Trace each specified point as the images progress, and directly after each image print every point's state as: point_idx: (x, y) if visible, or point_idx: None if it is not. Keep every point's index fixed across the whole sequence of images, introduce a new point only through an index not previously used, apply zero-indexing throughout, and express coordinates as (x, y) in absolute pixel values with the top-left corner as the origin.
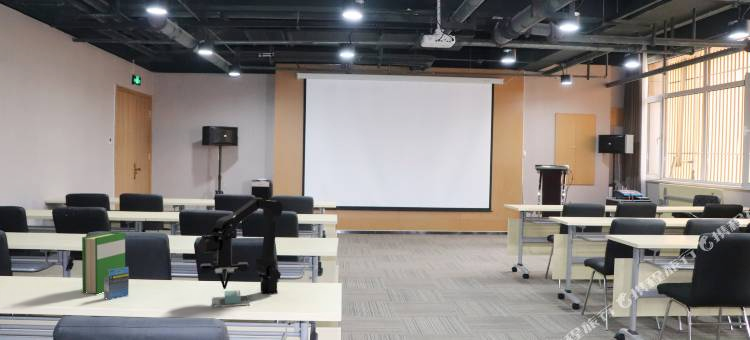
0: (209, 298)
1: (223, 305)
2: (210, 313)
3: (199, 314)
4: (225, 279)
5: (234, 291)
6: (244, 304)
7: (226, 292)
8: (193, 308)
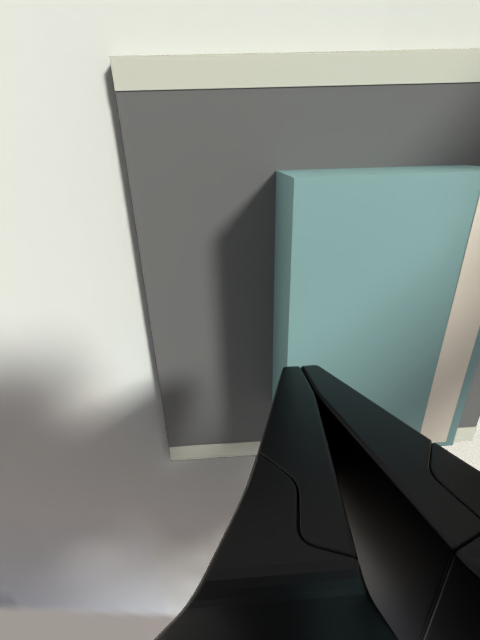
0: (62, 59)
1: (257, 445)
2: (171, 561)
3: (101, 572)
4: (369, 573)
5: (437, 240)
6: None
7: (315, 278)
8: (6, 454)
